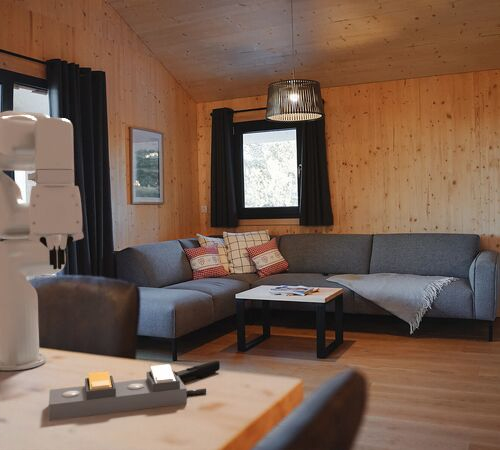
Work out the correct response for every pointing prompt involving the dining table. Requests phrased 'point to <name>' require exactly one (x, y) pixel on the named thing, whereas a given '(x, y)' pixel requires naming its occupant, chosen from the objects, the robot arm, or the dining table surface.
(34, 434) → the dining table surface
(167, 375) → the white rocker switch
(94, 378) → the amber rocker
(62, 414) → the power strip
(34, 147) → the robot arm
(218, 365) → the electric trimmer
